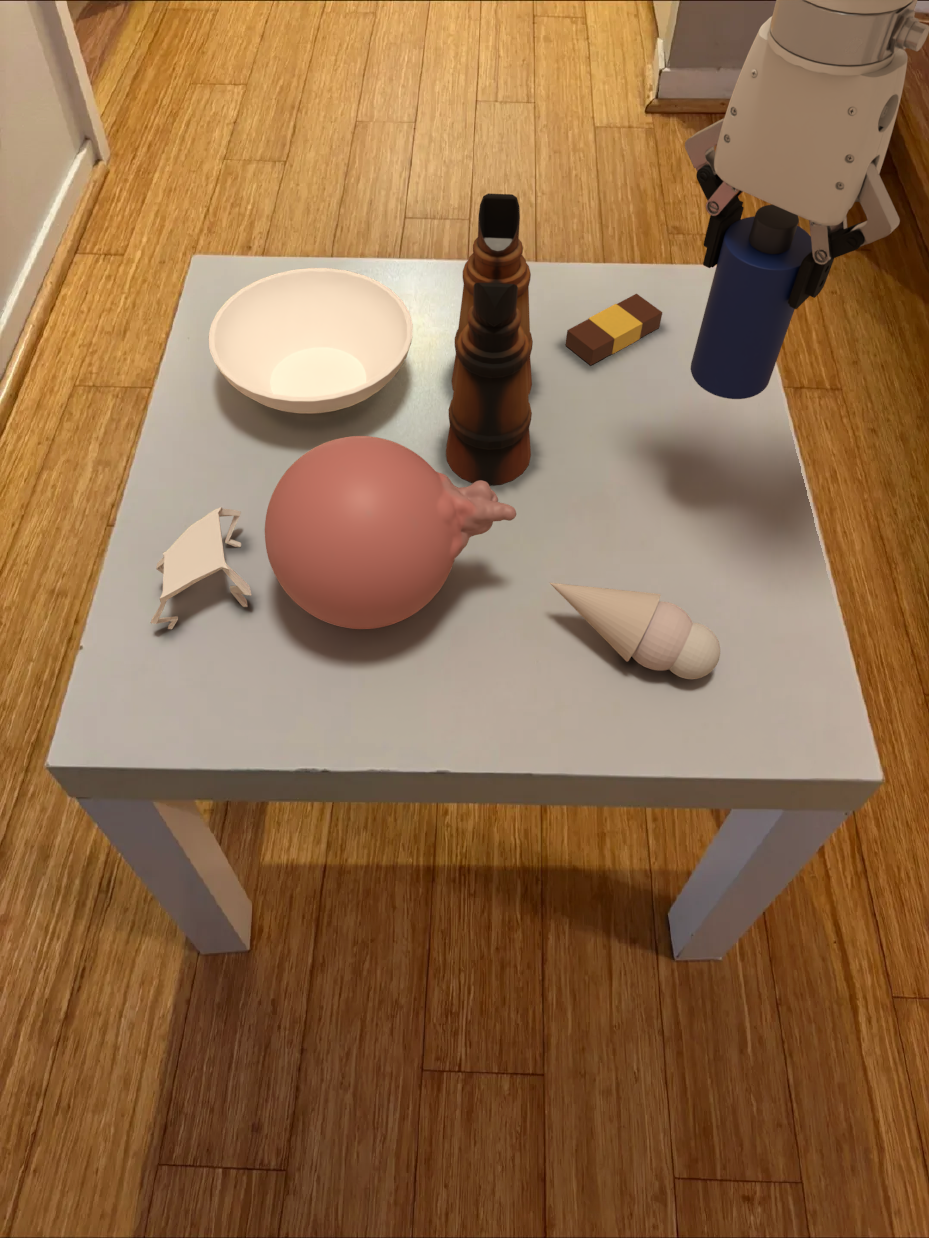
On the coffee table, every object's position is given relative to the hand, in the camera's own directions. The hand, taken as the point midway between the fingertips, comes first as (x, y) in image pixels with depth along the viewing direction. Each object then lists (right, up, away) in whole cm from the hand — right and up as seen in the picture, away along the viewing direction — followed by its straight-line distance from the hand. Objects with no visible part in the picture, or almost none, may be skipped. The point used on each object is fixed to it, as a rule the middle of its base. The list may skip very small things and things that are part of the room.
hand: (758, 276), depth 72 cm
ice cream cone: (-8, -28, +10) cm, 30 cm away
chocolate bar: (-6, +5, +32) cm, 33 cm away
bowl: (-37, -2, +27) cm, 46 cm away
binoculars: (-19, -5, +25) cm, 32 cm away
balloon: (-28, -23, +13) cm, 38 cm away
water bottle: (0, -5, +7) cm, 9 cm away
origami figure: (-44, -22, +13) cm, 51 cm away
